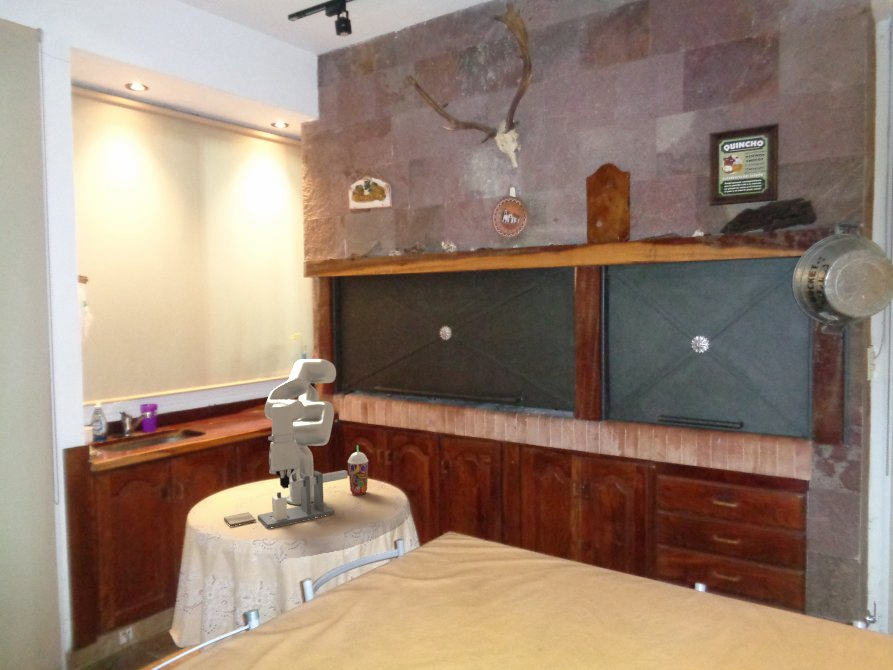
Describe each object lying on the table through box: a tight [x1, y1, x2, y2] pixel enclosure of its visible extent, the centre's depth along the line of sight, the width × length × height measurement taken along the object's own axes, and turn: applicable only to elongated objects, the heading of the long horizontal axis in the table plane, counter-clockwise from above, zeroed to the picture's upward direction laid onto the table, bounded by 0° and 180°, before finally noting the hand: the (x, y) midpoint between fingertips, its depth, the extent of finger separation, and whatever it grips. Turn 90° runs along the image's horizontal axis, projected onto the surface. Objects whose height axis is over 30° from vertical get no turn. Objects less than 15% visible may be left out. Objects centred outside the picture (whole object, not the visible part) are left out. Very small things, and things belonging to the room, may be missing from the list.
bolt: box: [288, 469, 349, 489], centre depth 242 cm, size 3×22×5 cm, turn 123°
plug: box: [271, 491, 288, 521], centre depth 234 cm, size 5×5×10 cm
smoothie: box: [347, 444, 369, 496], centre depth 264 cm, size 8×8×20 cm
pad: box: [223, 511, 257, 527], centre depth 236 cm, size 9×9×1 cm
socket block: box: [257, 470, 335, 529], centre depth 239 cm, size 12×25×15 cm, turn 123°
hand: (285, 487), depth 235 cm, fingers closed
